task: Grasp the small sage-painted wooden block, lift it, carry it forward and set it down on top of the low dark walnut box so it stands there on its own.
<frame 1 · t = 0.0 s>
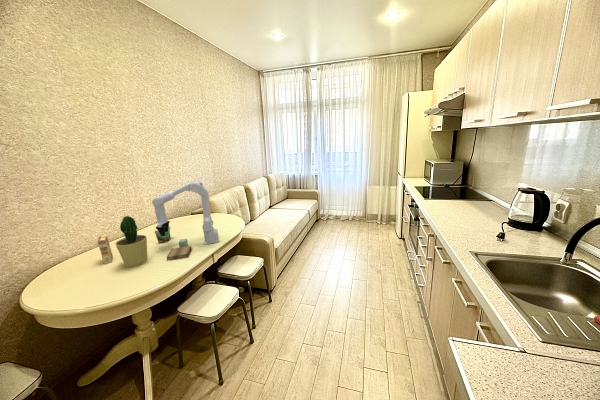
hand: (164, 233, 161), 10 cm above the table, tool pointing down, fingers open, 7 cm apart
sage block: (183, 247, 164), on the table
walnut box: (180, 255, 152), on the table
candy box: (108, 260, 149), on the table
food container: (166, 240, 176), on the table
potted cactus: (136, 262, 145), on the table
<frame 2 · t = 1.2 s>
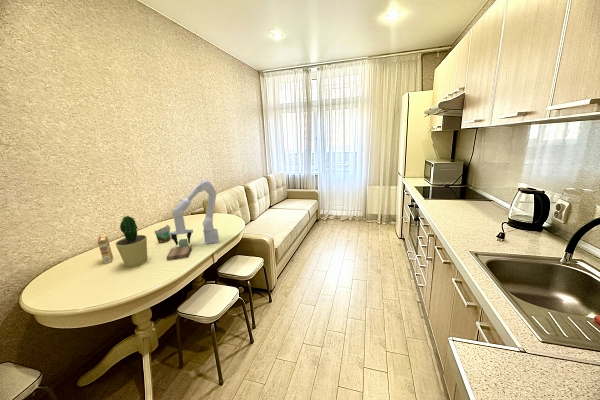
hand: (183, 243, 163), 2 cm above the table, tool pointing down, fingers open, 7 cm apart
nothing on the table moved.
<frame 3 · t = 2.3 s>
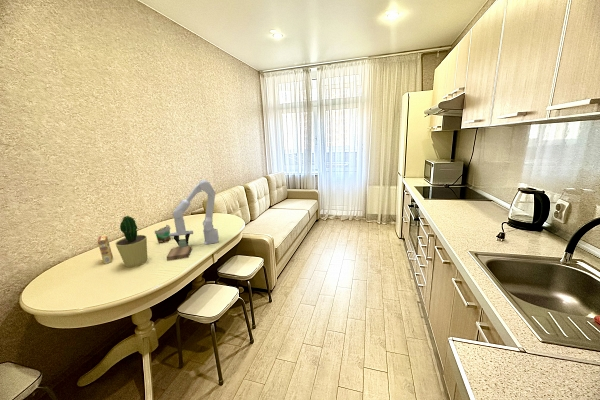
hand: (183, 245, 163), 1 cm above the table, tool pointing down, fingers closed on sage block, 4 cm apart
sage block: (183, 246, 164), on the table, touching gripper
everything else where it was.
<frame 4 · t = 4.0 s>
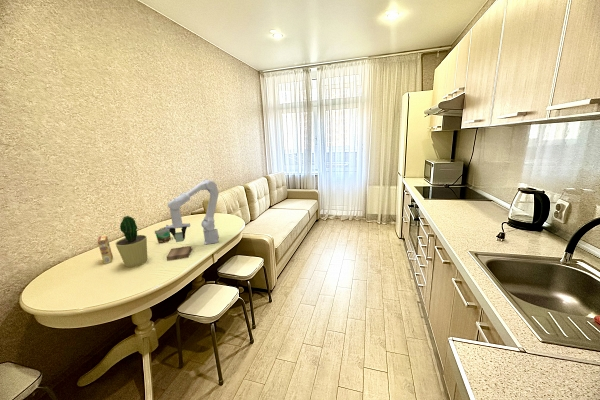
hand: (180, 238, 157), 8 cm above the table, tool pointing down, fingers closed on sage block, 4 cm apart
sage block: (180, 240, 157), point 7 cm above the table, touching gripper
everything else where it was.
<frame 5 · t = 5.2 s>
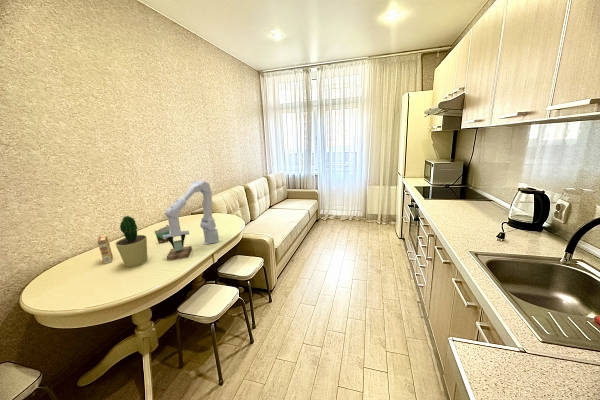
hand: (178, 246, 151), 5 cm above the table, tool pointing down, fingers closed on sage block, 4 cm apart
sage block: (179, 249, 152), point 4 cm above the table, touching gripper
everything else where it was.
when the fingers open (5 cm above the table, at t = 5.8 s): sage block drops 1 cm, resting on walnut box.
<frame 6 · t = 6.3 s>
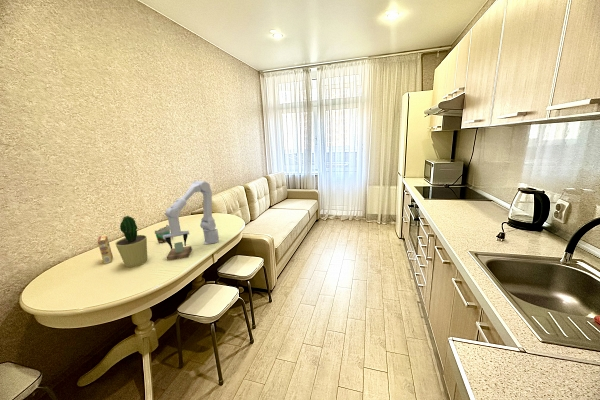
hand: (178, 246, 151), 5 cm above the table, tool pointing down, fingers open, 7 cm apart
sage block: (179, 250, 152), point 2 cm above the table, touching walnut box
walnut box: (180, 255, 152), on the table, touching sage block
everything else where it was.
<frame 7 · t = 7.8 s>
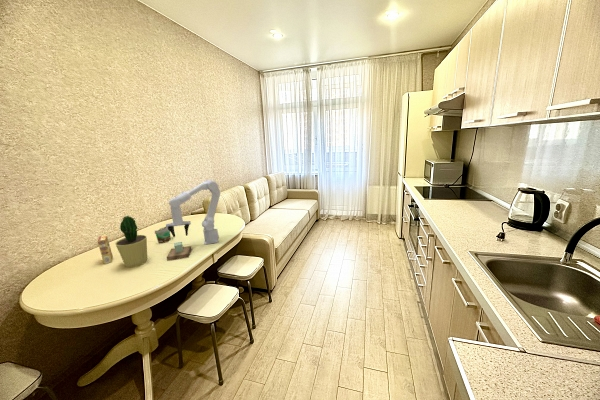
hand: (180, 235, 158), 9 cm above the table, tool pointing down, fingers open, 7 cm apart
nothing on the table moved.
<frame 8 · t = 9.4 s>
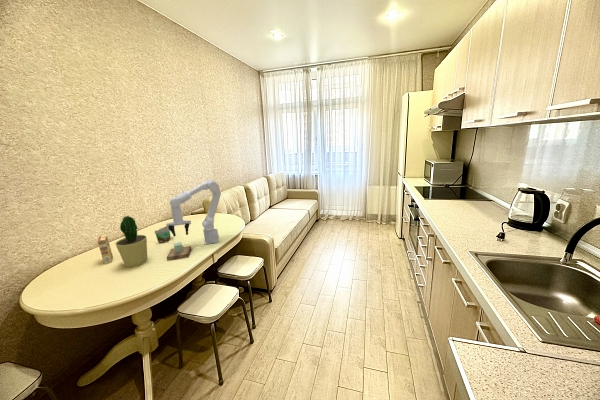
hand: (181, 235, 159), 9 cm above the table, tool pointing down, fingers open, 7 cm apart
nothing on the table moved.
at the end: sage block inside the target area on the walnut box (0.2 cm from its centre), point 3.0 cm above the walnut box's base; sage block touching walnut box; sage block tilted 0° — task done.
